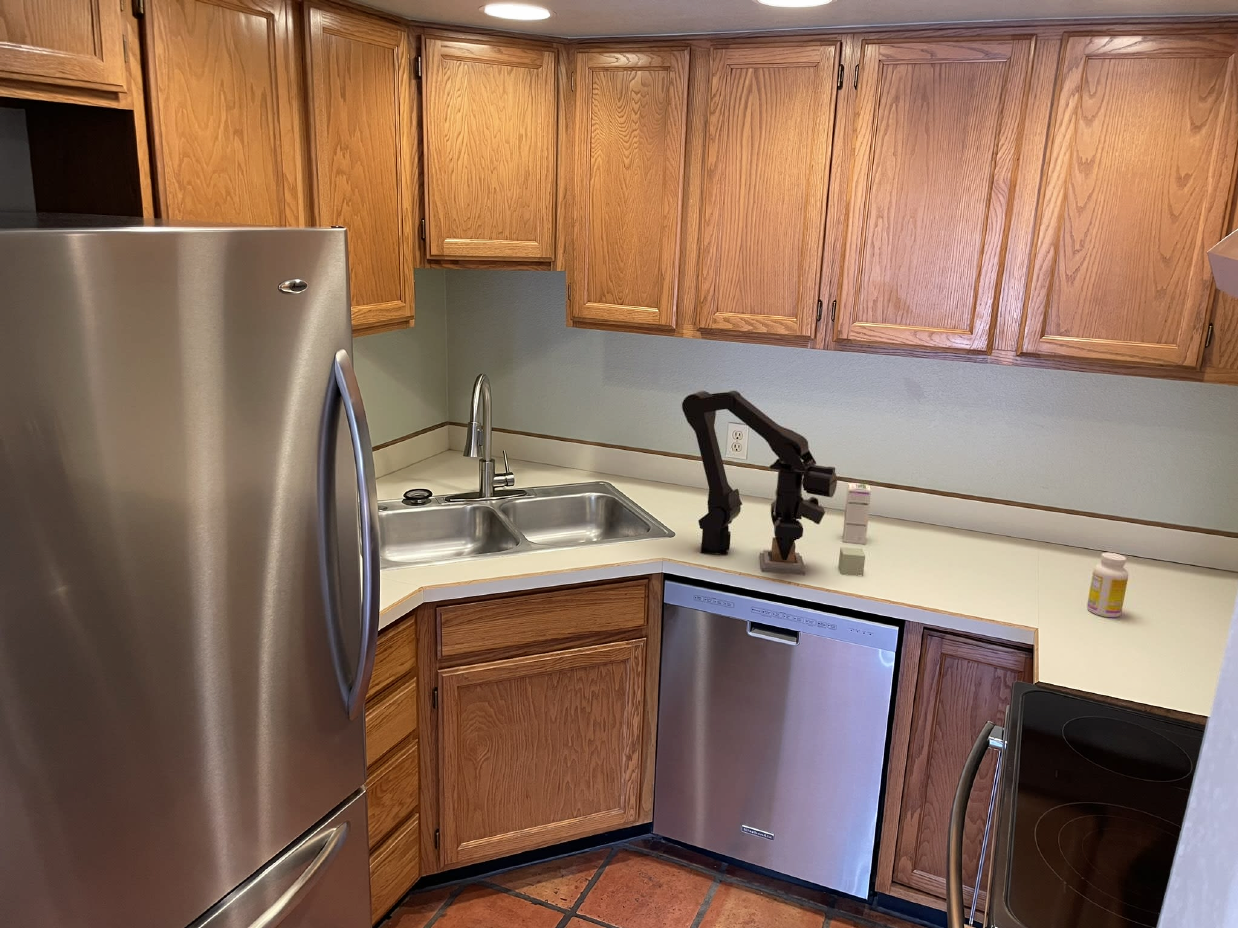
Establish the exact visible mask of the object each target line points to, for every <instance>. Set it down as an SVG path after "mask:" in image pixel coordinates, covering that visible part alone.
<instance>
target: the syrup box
mask: <svg viewBox="0 0 1238 928" xmlns="http://www.w3.org/2000/svg"><path fill="white" fill-rule="evenodd" d="M871 494H872V490H871V485H870V484H868V483H867V484H866V483H858V482H848V483H847V492H846V499H845V510H844V520H843V529H842V530H843V531H842V538H843V539H842V541H843V542H844V543H850V544H856V545H857V544H859V545H866V543H867V535H868V534H867V533H868V523H869V517H870V516H869V515H870V504H871Z"/></svg>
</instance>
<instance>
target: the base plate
mask: <svg viewBox="0 0 1238 928" xmlns="http://www.w3.org/2000/svg"><path fill="white" fill-rule="evenodd" d="M759 565H760V571H761V572H764V573H775V574H787V575H790V574H791V575H800V576H803V575H804V576H806V567H805V564H804V560H803V556H802V555H800V552H796V551H795V557H794V563H784V562H772V561H771V550H768V549H767V550H766V549H763V552H759Z"/></svg>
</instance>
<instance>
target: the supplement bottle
mask: <svg viewBox="0 0 1238 928" xmlns="http://www.w3.org/2000/svg"><path fill="white" fill-rule="evenodd" d="M1126 562H1127V558H1126V556H1124V555H1121V554H1118V553H1114V552H1103V553H1101V555H1100V563H1098V564H1096V565H1095V566H1094V567H1093V571H1092V576H1091V581H1090V586H1089V593H1088V597H1087V603H1086V604H1087V605H1086V608H1087V610H1088V611H1089V612H1091V613H1093V614H1094V615H1097V616H1100V617H1105V618H1117V617H1120V616H1121V614H1122V611H1123V606H1124V603H1125V596H1126V591H1127V585H1128V580H1129V571H1128V570H1127V569H1126V568H1125V565H1126V564H1127V563H1126Z"/></svg>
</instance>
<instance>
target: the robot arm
mask: <svg viewBox="0 0 1238 928" xmlns="http://www.w3.org/2000/svg"><path fill="white" fill-rule="evenodd" d="M681 409H682V412H683V415H684V417H685V420H686V421H687V423H688V424H689V426H690V428H692V430H693V431H694V434H695V437H696V441H697V446H698V449H699V452H700V456H701V457H700V458H701V461H702V466H703V469H704V473H705V478H706V481H707V485H708V496H707V513H706V514H705V515H704V516H702V517H701V518H699V519H698V520H697V521H698V526H699V529H701V530H702V531H701V533H702V534H701V535H702V536H701V542H700V553H701V554H709V555H710V554H711V555H724V556H725V555H726V556H727V555H728V551H730V549H731V548H730V545H731V538H732V537H731V536H732V535H731V531H730V528H729V525H730V524H732V522H733V520H734V519H736V518H737V517H738V516H739V515H740V513H741V510H742V509H741V508H742V505H743V502H742V501H741V498H740V490H739V489H738V488H736V489H733V488H732V487H731V486H730V484H729V482H728V478H727V474H726V471H725V466H724V462H723V458H722V454H721V449H720V446H719V442H718V436H717V432H716V429H715V422H716V418H717V417H716V416H717V411H721V410H722V411H723V410H727V411H729V412H730V413H731V414H732V415H734V416H735V417H736V418H737V419H738V420H739V421H741V422H742V423H744V424H745V425H746V426H747V427H749V428H750V429H751V430H752V431H754V432H755V433H756V434H758V435H759V436H760V437H761V438H763V439H764V440H765V442H766V443H767V445H768V446H769V447H770V449H771V451H772V452H773V453H774V455H776V457H778V458H777V459H776V460H775V462H774V463H772V464H770V465H769V469H771V470H777V479H776V489H775V492H774V494H775V495H774V496H775V500H774V501H773V502H771V504H770V511H769V512H770V518H771V521H772V525H773V533H774V537H775V538H776V541H777V544H778V548H779V551H780V554H781V558H782V560H787V558H788V555H789V553H790V550H791V547H792V545H793V542H794V541H795V542H796V541H797V540H800V539H801V538H803V535H804V527H803V524H802V523H801V521H800V520H802V518H805V520H809V521H811V522H813V523H814V524H816V525H820V524H821V521H822V520H823V518H824V516H825V513H826V511H825V509H824V507H823V506H822V505H819V504H820V503H819V499H818V498H817V497H815V496H821V497H827V498H834V495H835V493H836V490H837V485H838V479H837V473H836V468H835V466H824V465H817V461H816V460H815V458H814V456H813V455H812V453H811V450H810V449H809V442H808V440H807V438H806V437H804V436H803V435H802V434H800V433H797V432H796V431H794V430H792V429H789V428H787V427H784V426H781V425H779V424H778V423H776V422H775V421H774V420H773V419H771V418H770V416H768V415H766V414H765V413H764V412H763V411H762V410H760V409H759V408H758V407H757V406H755V405H754V404H753V403H751V402H750V401H749V400H747V399H746V398H745V397H743V395H741V393H740V392H739V391H737V390H729V391H726V392H716V393H710V392H708V391H705V390H701V391H698V392H695V393H691V394H689V395H687V396H685V397H684V399H683V401H682V403H681ZM802 489H803V491H805V492H806V493H807V494H808V495H809V494H810V495H814V496H811V497H809V498H808V499H806V498H805V499H804V497H803V495H802Z"/></svg>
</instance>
